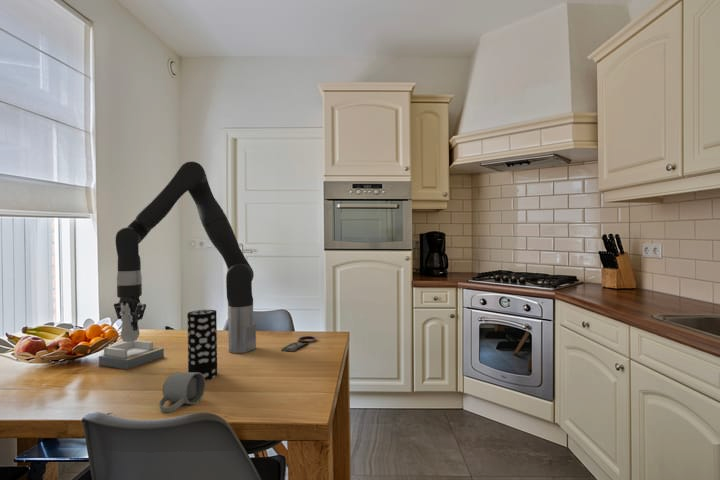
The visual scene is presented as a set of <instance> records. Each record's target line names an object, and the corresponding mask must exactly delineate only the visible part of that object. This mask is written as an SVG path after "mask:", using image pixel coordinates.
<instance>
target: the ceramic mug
mask: <svg viewBox="0 0 720 480" xmlns="http://www.w3.org/2000/svg"><path fill="white" fill-rule="evenodd" d="M205 389H206V381H205V378H204V376H203V375H202V374H201V373H199V372H190V373H188V372H176V373H175V372H173V373H171V374H170V375H169V376H168V377H167V378H166V379H165V381H164V383H163V386H162V395H163V396H162V398H161V399H160V401H159V403H158V404H159V405H158V406H159V408H160V410H161V411H162V412H163V413H172V412H174V411H175V410H178V409H180V407H182V405H183V404H185V405H196V404H197V403H198V402H200V401H201V400H202V397H203V396H204V393H205V392H206V391H205ZM167 401H169V402H171V403H174V404H171V405H170V406H167V407H165V406H164V404H165V403H166V402H167Z"/></svg>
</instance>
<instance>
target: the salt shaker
mask: <svg viewBox="0 0 720 480" xmlns="http://www.w3.org/2000/svg"><path fill="white" fill-rule="evenodd" d="M123 311H124V312H125V313H124V319H123V321H122V326H121V331H120V337H121V339H122V343H124V342H132V341H135V340H138V338H139V336H140V334H141V333H140V329H139V327H138V329H137V330H135V331H133V324H132V327H131V322H130V316H128V308H127V307H126V305H124V306H123ZM132 313H135V312H132ZM134 316H135V315H133V318H134Z"/></svg>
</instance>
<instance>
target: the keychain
mask: <svg viewBox="0 0 720 480" xmlns="http://www.w3.org/2000/svg"><path fill="white" fill-rule="evenodd" d="M316 341H317V337H316V336H313V335H312V336H311V335H307V336H306V335H305V336H301V337H298V339H297V341H296V342H291V343H289V344H287V345H286V346H284V347H283V348H282V349H281V351H284V352H291V353H292V352H293V353H295V352H296V350H297V349H299V348H301V347H303V346H309V344H312V343H316Z"/></svg>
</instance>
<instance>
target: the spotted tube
mask: <svg viewBox="0 0 720 480" xmlns="http://www.w3.org/2000/svg"><path fill="white" fill-rule="evenodd" d="M186 318H187V360H188V361H187V370H188V371H187V373H190V372H199V373H201V374H202V375H203V376H204V378H205V382H206V381H209V380H212V379H215V378H216V377H218V334H217V333H218V332H217V331H218V330H217V329H218V328H217V327H218V326H217V325H218V322H217V321H218V320H217V310H215V309H200V310H193V311H189V312H187V317H186Z"/></svg>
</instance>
